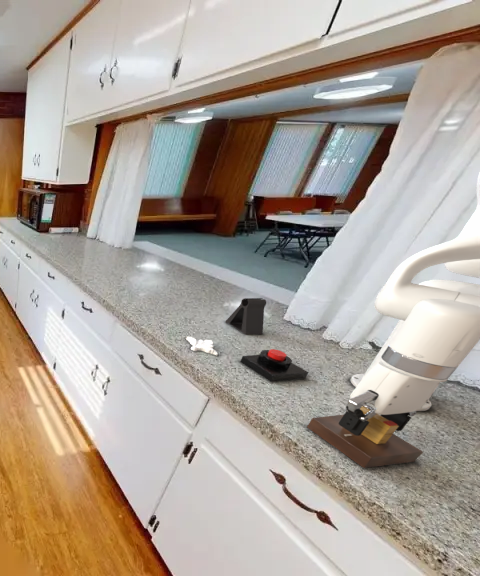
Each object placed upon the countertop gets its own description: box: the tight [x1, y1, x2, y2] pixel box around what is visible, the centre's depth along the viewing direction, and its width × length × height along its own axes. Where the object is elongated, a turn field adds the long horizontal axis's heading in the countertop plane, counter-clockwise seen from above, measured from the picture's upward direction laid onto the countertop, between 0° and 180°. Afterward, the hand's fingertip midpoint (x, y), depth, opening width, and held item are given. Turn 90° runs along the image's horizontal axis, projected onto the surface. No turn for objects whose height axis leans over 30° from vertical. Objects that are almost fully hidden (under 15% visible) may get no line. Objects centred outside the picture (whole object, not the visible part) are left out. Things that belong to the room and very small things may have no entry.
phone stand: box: [225, 297, 267, 335], centre depth 106 cm, size 9×6×12 cm, turn 178°
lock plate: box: [306, 414, 424, 469], centre depth 64 cm, size 12×10×3 cm
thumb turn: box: [360, 406, 399, 444], centre depth 62 cm, size 5×2×5 cm, turn 6°
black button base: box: [240, 349, 309, 382], centre depth 86 cm, size 11×9×4 cm
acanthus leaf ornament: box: [186, 336, 219, 356], centre depth 97 cm, size 8×7×2 cm
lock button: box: [268, 348, 288, 361], centre depth 86 cm, size 4×4×2 cm
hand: (368, 427), depth 62 cm, fingers open, 9 cm apart
